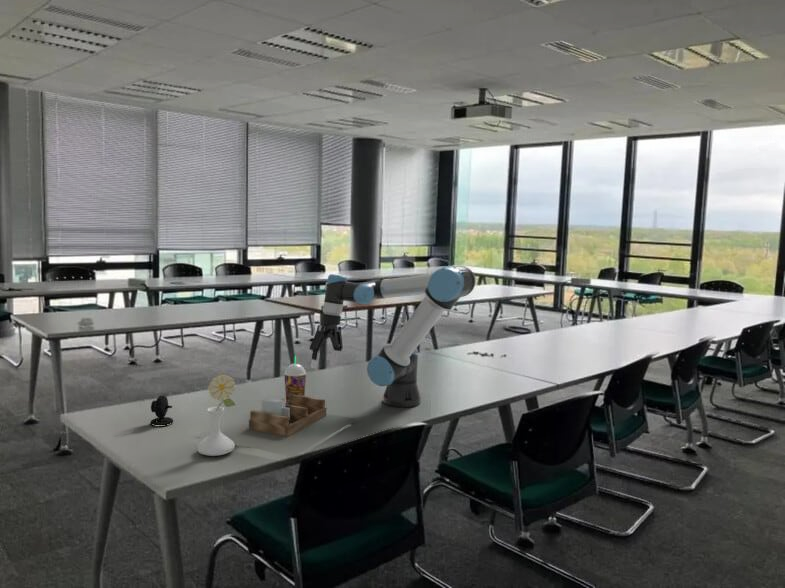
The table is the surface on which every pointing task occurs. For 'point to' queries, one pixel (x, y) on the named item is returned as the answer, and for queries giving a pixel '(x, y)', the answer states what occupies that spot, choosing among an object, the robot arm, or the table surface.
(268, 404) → the mug
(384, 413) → the table surface
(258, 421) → the rack
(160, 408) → the webcam
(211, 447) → the flower in vase
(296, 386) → the smoothie
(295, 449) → the table surface
